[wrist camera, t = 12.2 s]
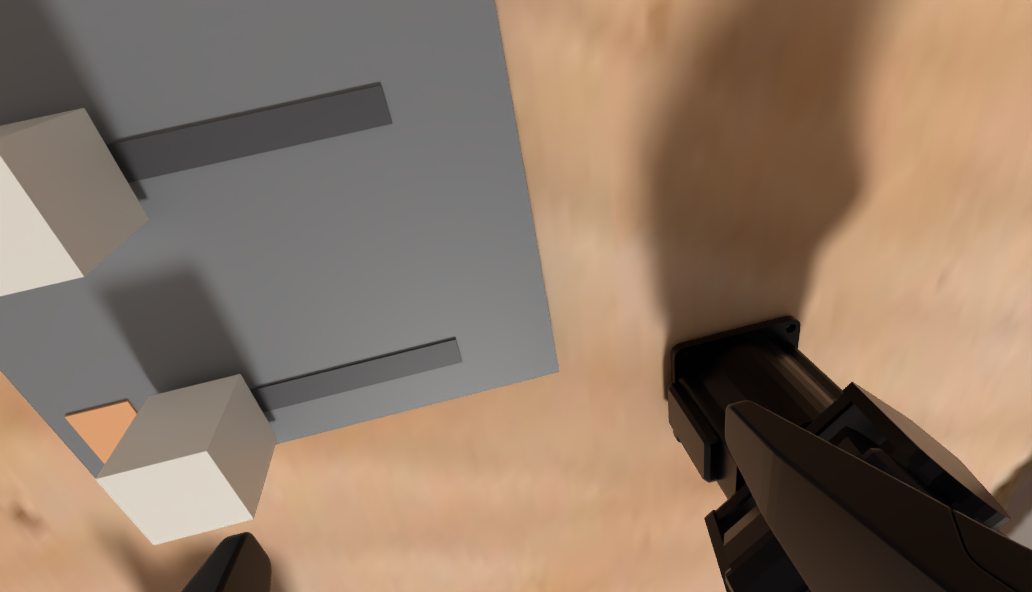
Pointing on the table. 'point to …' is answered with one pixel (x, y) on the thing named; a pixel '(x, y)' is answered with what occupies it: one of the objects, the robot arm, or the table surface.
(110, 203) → the switch mid
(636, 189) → the table surface
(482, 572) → the table surface
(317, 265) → the switch board
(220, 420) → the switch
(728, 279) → the table surface
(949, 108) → the table surface
